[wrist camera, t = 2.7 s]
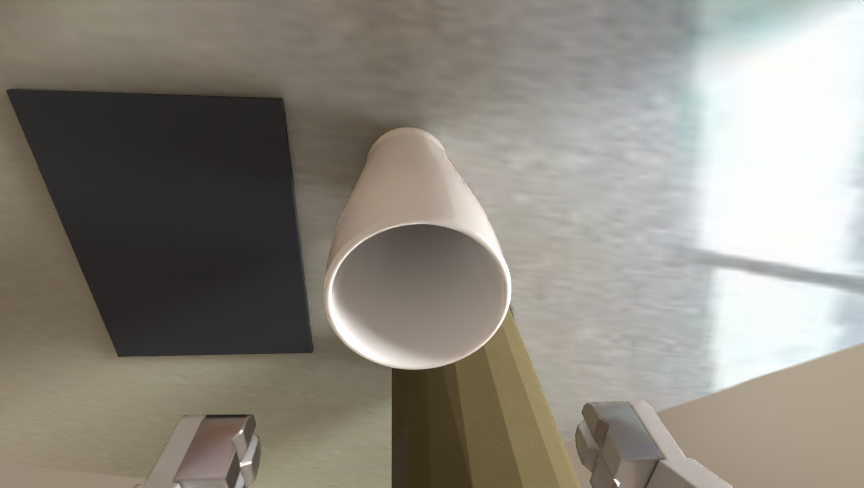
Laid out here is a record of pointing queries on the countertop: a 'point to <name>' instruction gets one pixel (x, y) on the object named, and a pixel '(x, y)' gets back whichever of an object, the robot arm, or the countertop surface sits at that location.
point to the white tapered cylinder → (414, 260)
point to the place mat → (177, 216)
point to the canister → (477, 422)
